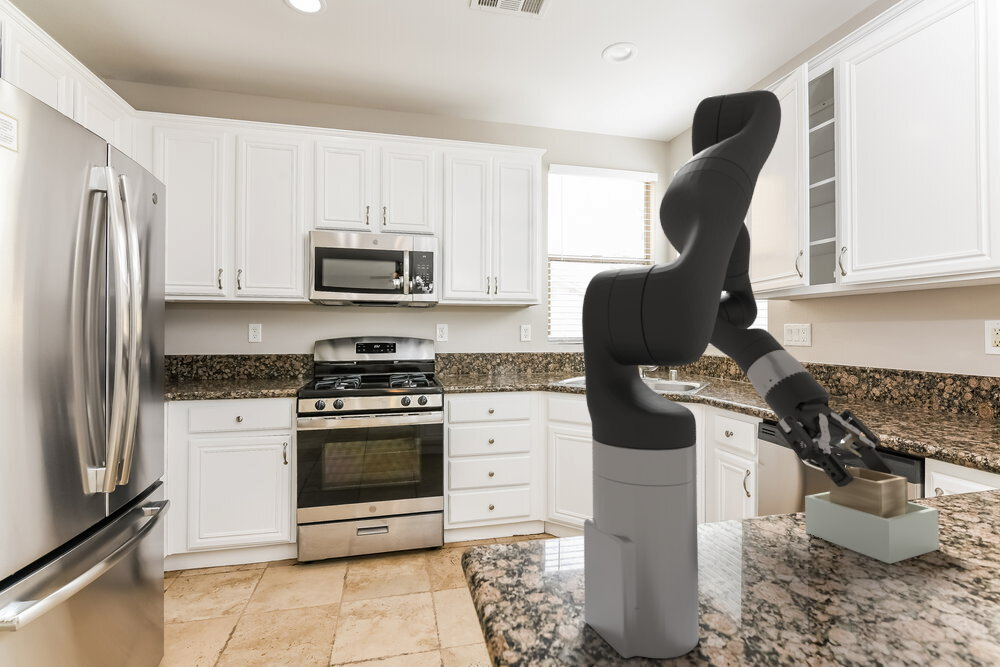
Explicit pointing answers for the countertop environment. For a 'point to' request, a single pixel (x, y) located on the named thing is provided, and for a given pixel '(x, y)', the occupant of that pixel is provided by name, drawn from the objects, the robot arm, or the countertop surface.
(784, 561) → the countertop surface
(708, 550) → the countertop surface
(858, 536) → the sage crate
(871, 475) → the birch crate
